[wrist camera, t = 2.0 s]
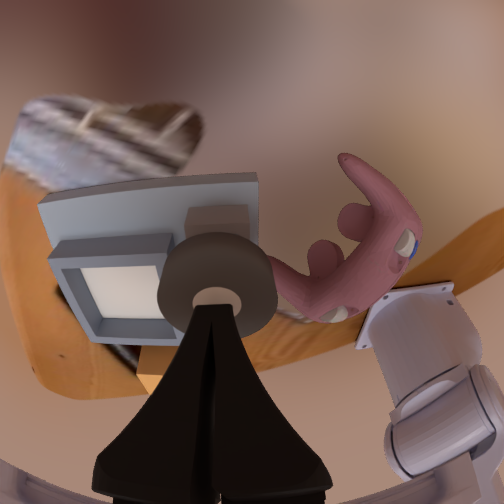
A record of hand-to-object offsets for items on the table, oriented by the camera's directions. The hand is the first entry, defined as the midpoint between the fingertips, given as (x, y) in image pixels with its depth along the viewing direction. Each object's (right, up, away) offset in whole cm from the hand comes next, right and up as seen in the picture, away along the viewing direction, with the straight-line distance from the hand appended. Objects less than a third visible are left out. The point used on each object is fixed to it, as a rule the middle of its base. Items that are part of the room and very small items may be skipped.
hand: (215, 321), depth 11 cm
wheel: (0, +3, +4) cm, 5 cm away
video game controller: (+6, +5, +8) cm, 11 cm away
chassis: (-5, +2, +8) cm, 10 cm away
